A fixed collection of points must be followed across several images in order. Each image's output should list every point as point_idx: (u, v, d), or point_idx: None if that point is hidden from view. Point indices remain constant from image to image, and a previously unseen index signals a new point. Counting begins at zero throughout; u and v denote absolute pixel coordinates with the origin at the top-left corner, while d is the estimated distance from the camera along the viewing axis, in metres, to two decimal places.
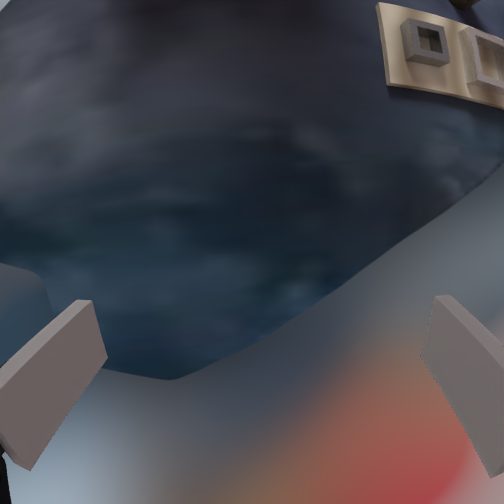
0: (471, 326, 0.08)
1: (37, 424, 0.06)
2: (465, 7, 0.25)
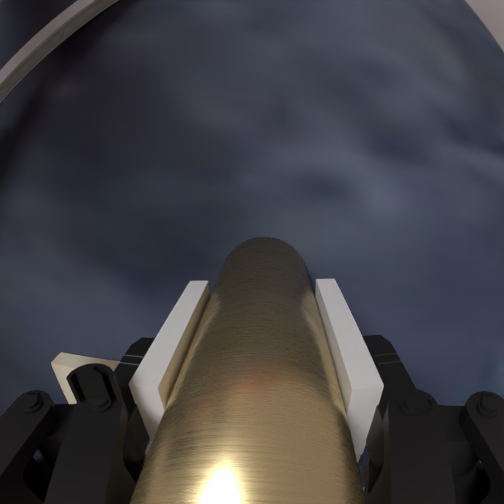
0: (333, 305, 0.10)
1: None
2: None
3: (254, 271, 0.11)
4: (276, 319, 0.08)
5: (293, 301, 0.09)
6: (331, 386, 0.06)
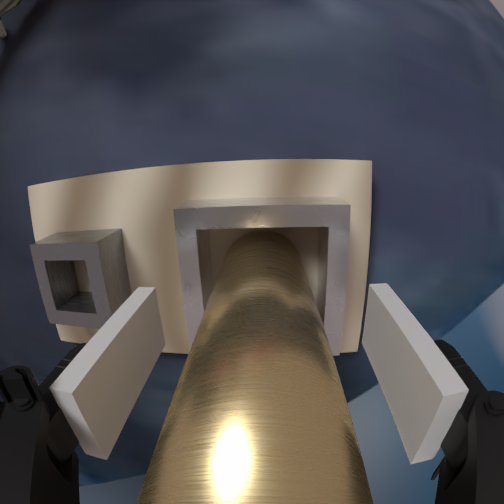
0: (396, 312, 0.09)
1: (114, 410, 0.08)
2: None
3: (255, 258, 0.12)
4: (276, 294, 0.09)
5: (290, 282, 0.11)
6: (324, 348, 0.08)
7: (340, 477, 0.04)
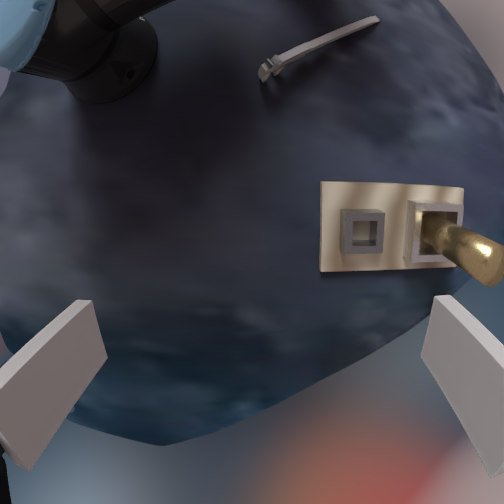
0: (471, 326, 0.08)
1: (37, 424, 0.06)
2: None
3: (445, 220, 0.34)
4: None
5: None
6: None
7: None
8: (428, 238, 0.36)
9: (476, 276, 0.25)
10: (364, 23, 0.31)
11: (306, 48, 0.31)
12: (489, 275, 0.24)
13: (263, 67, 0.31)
